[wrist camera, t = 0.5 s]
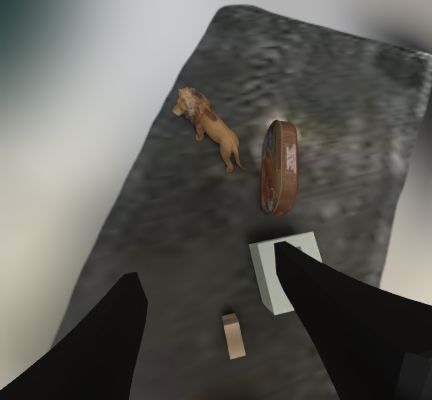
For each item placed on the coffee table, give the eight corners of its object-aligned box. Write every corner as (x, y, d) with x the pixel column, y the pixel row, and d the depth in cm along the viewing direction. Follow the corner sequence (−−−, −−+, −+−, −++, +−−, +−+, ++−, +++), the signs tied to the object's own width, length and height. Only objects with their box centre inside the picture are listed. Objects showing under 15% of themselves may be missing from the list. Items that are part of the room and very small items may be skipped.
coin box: (311, 290, 33) (333, 300, 27) (262, 302, 33) (274, 315, 27) (295, 234, 35) (313, 231, 29) (248, 244, 34) (257, 243, 29)
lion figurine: (174, 131, 38) (164, 96, 29) (193, 111, 39) (189, 72, 30) (238, 181, 37) (247, 161, 28) (256, 159, 38) (271, 133, 29)
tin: (262, 136, 39) (277, 107, 31) (279, 138, 39) (299, 109, 31) (259, 218, 36) (275, 210, 27) (278, 220, 36) (299, 212, 27)
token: (240, 341, 31) (245, 355, 28) (227, 345, 31) (230, 359, 27) (234, 313, 32) (238, 322, 28) (221, 316, 32) (223, 325, 28)
